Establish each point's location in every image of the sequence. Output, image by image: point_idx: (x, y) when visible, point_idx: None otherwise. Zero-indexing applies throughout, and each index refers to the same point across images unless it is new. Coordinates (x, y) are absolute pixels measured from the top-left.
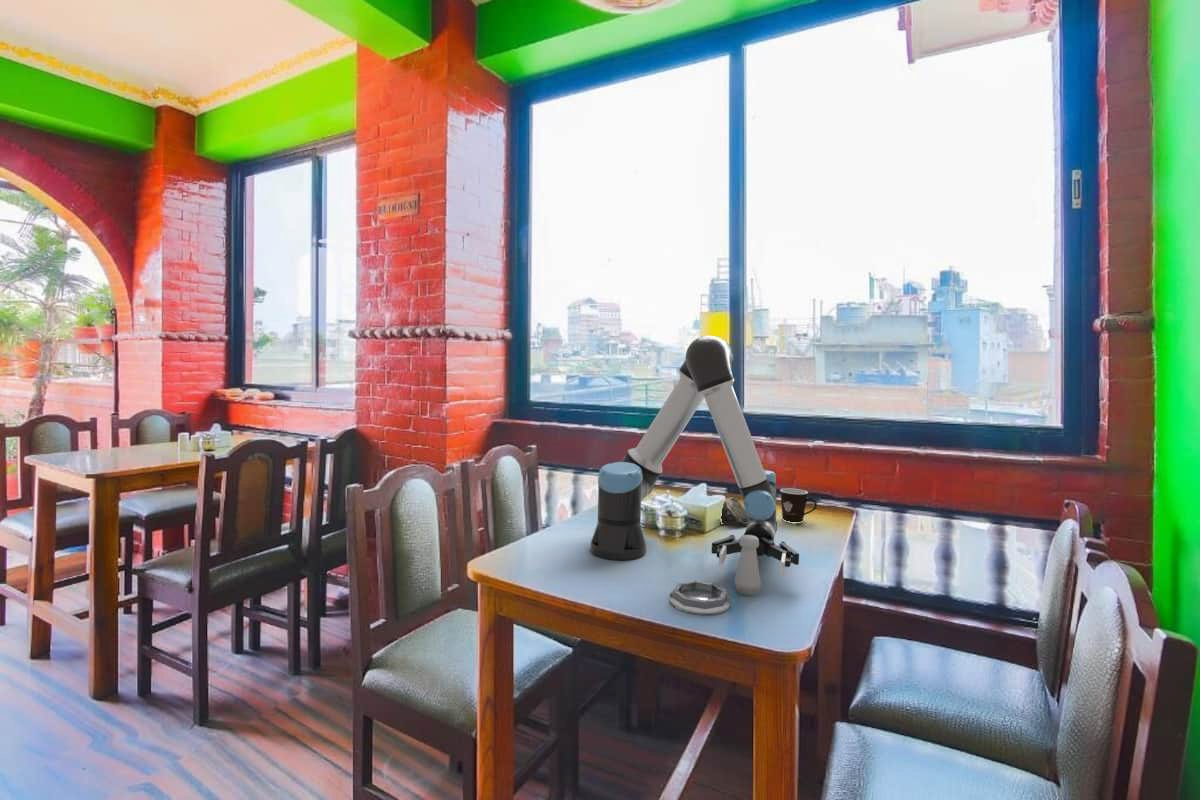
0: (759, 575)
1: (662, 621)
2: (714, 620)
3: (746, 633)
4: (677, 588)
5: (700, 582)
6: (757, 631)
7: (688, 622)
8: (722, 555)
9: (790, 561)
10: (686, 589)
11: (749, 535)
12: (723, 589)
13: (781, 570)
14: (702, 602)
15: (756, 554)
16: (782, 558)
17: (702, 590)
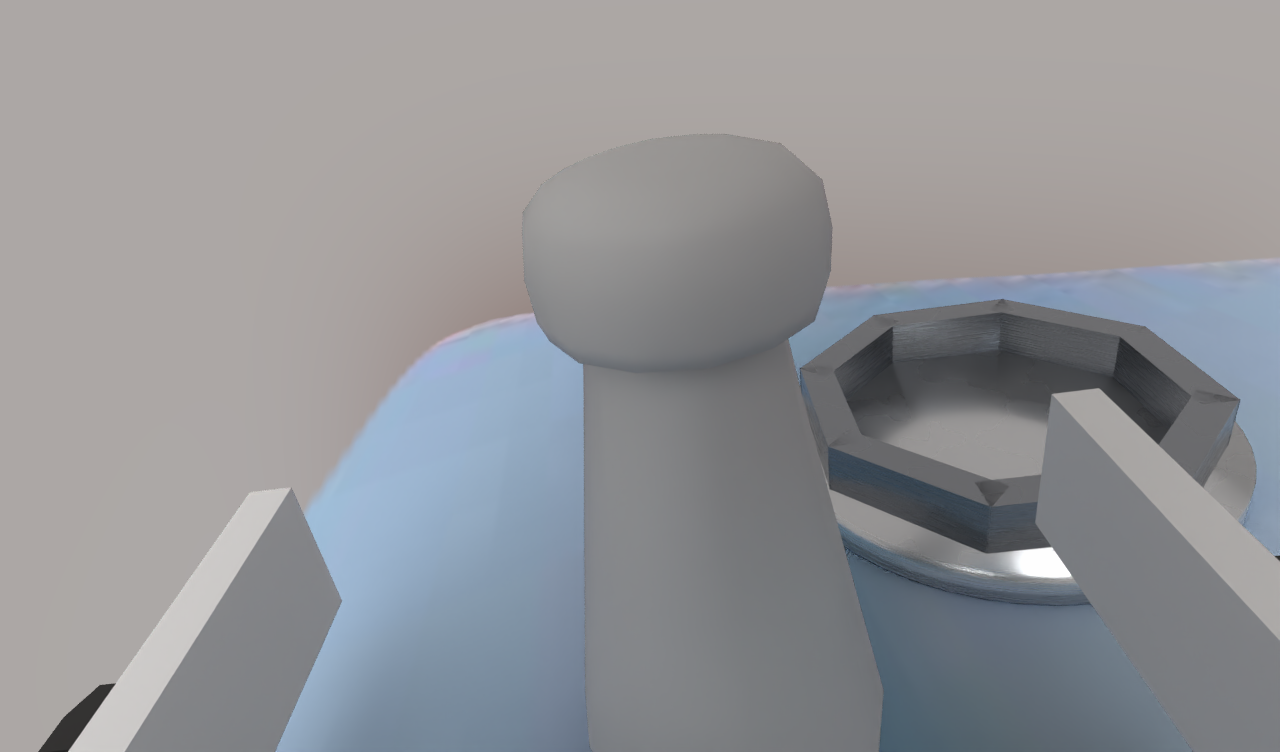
0: (585, 620)
1: (1001, 281)
2: (804, 355)
3: None
4: (1151, 352)
5: None
6: None
7: (900, 310)
8: (1052, 412)
9: (72, 727)
10: None
11: (668, 165)
12: (865, 455)
13: (319, 570)
14: (893, 317)
15: (587, 408)
16: (211, 598)
17: None
